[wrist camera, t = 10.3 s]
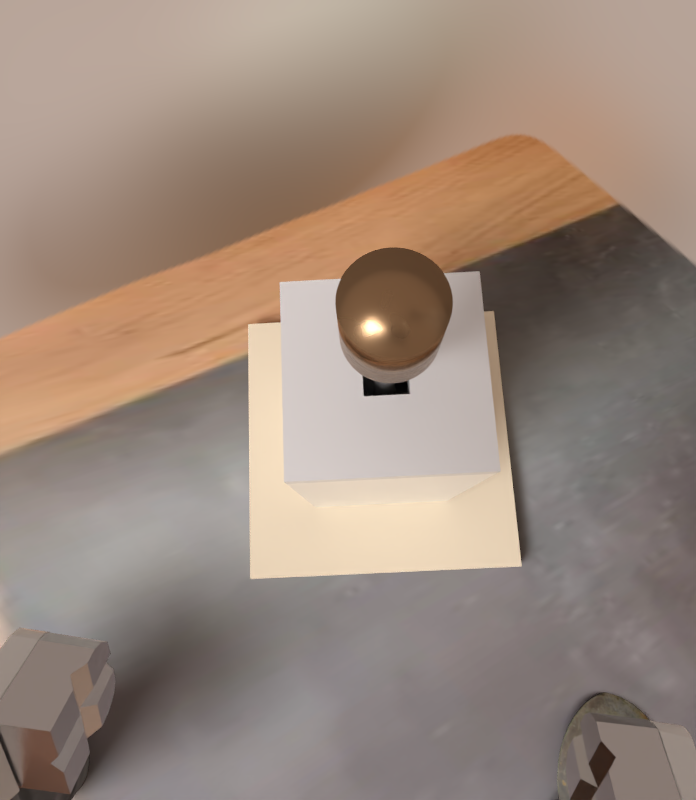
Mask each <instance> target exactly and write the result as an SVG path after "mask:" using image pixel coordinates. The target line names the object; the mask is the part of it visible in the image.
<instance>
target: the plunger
mask: <svg viewBox="0 0 696 800" xmlns="http://www.w3.org/2000/svg"><path fill="white" fill-rule="evenodd" d="M335 305H336V314H337V322H338V330H339V339H340V345H341V349H342V351H343V354H344V356H345V358H346V359H347V361H348V362H349V364H350V365H351V366H352V367H353V368H354V369H355V370H356V371H357V372H358V373H360V374H361V375H363V394H364V396H380V395H399V394H409V393H408V380H410V379H413V378H415V377H416V376H418V375H420V374H421V373H422V372H424V371H425V370H426V369H427V368H428V367H429V366H430V365H431V363H432V362H433V361H434V359H435V357H436V355H437V353H438V350H439V348H440V345H441V342H442V340H443V337H444V334H445V332H446V329H447V326H448V324H449V321H450V318H451V314H452V308H453V297H452V291H451V288H450V284H449V282H448V280H447V278H446V276H445V275H444V273H443V272H442V270H441V269H440V268H439V267H438V266H437V265H436V264H435V263H434V262H433V261H432V260H430V259H429V258H427V257H426V256H424V255H422V254H420V253H418V252H415V251H413V250H409V249H404V248H383V249H379V250H375V251H372V252H370V253H367V254H365V255H364V256H362V257H360V258H359V259H357V260H356V261H355V262H354V263H353V264H351V265H350V267H349V268H348V269H347V270H346V271H345V273H344V274H343V276H342V278H341V280H340V282H339V285H338V288H337V292H336V300H335Z"/></svg>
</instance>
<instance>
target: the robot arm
mask: <svg viewBox="0 0 696 800" xmlns="http://www.w3.org/2000/svg"><path fill="white" fill-rule="evenodd" d="M110 654H111V653H110V649H109V646H108V642H107V641H101V640H95V639H88V638H81V637H75V636H68V635H62V634H55V633H51V632H46V631H39V630H31V629H24V628H19V629H17V630H16V631H15V632H14V633H13V634H12V635H10V636H9V637H8V639H7V640H6V642H5V643H4V644H3V646H2V647H1V649H0V800H10V799H11V798H13V797H14V796H15V795H16V794H17V793H18V792H19V788H27V789H35V790H42V791H50V792H58V793H65V794H71V792H72V790H73V788H74V785H75V783H76V781H77V779H78V777H79V775H80V773H81V771H82V768H83V766H84V764H85V762H86V760H87V758H88V756H89V754H90V751H89V745H88V740H87V738H88V737H89V736H90V735H92V734H93V733H94V732H96V731H97V730H98V729H99V728H101V727H102V726H103V723H104V721H105V719H106V717H107V714H108V712H109V710H110V707H111V703H112V700H113V696H114V692H115V673H114V669H113V668H112V667H110V666H109V665H108V664H107V663H106V662H107V660H108V658H109V656H110ZM580 726H581V731H582V734H581V735H579V736H577V737H575V738H573V739H572V741H571V744H570V746H569V749H568V752H567V762H566V775H567V785H568V791H569V797H570V800H696V748H695V745H694V743H693V740H692V737H691V735H690V733H689V732H688V731H687V730H686V728H685V727H683V726H680V725H677V724H669V723H662V722H654V721H649V720H646V719H638V718H630V717H622V716H614V715H607V714H599V713H591V712H589V713H587V714H585V715H584V717H583V719H582V720H581V722H580Z"/></svg>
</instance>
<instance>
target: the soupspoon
mask: <svg viewBox="0 0 696 800" xmlns="http://www.w3.org/2000/svg"><path fill="white" fill-rule="evenodd" d="M589 712H591V713H599V714H607V715H614V716H622V717H630V718H638V719H646V720H649V719H648V718H647V717H646V716H645V715H644V714H643V713H642V712H641V711H640V710H639V709H638V708H636V707H635V706H634V705H632V704H631V703H630V702H628V701H626V700H624V699H622V698H620V697H618V696H615V695H612V694H608V693H601V694H599V695H597V696H595V697H593V698H591V699H590V700H588V701H587V702H586V703H585V704H584V705H583V706H582V707H581V708H580V709H579V711H578V712H577V713H576V715H575V716H574V718H573V719H572V721H571V723H570V724H569V726H568V729H567V731H566V734H565V736H564V739H563V742H562V746H561V750H560V754H559V760H558V772H557V785H558V793H559V800H570V797H569V791H568V785H567V775H566V762H567V752H568V749H569V746H570V744H571V741H572V739H573V738H575V737H577V736H579V735H581V734H582V731H581V726H580V722H581V720H582V719H583V717H584V715H585V714H587V713H589Z"/></svg>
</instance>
